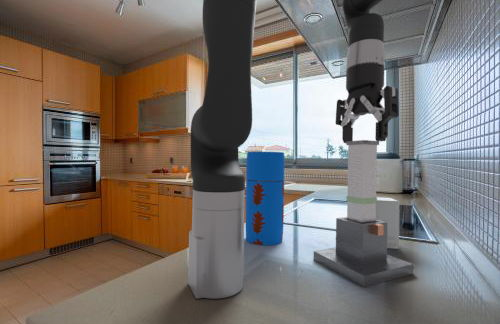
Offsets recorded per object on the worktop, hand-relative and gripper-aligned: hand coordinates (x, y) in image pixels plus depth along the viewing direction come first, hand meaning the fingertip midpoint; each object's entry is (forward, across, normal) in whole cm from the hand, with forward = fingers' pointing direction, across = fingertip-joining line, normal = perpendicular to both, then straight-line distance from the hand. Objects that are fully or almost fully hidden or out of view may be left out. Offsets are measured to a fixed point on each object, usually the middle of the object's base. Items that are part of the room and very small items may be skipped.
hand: (363, 142), depth 56 cm
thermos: (+27, -25, -10) cm, 38 cm away
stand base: (+27, 0, 0) cm, 27 cm away
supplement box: (+27, -9, +18) cm, 34 cm away
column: (+19, 0, 0) cm, 19 cm away
